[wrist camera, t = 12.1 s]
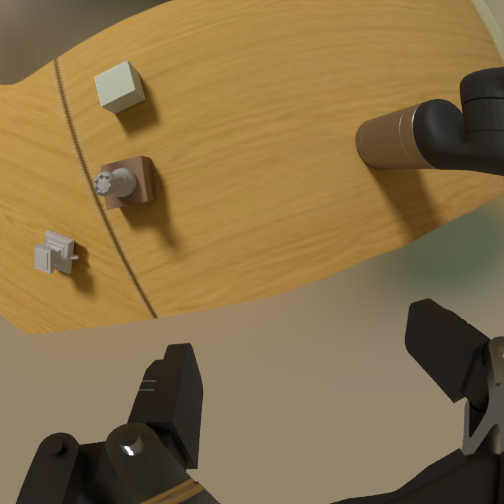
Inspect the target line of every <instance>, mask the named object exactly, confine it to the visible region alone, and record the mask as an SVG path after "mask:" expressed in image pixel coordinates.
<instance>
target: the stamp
mask: <svg viewBox="0 0 504 504" xmlns="http://www.w3.org/2000/svg"><path fill="white" fill-rule="evenodd" d="M74 242H75V240H74V239H71V238H68V237H65V236H63V235H60V234H57V233H55V232H52V231H49V230H48V231H47V232H46V235H45V244H42V245H40V244H36V245H34V268H35V269H38V270H41V271H44V272H47V273H50V274H51V273H52V272H54V270H55V269H57V270H59V271H62V272H64V273H67V274H71V268H72V259H73V260H78V259H79V257H78V256H77V255H75V254H73V250H74Z"/></svg>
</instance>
